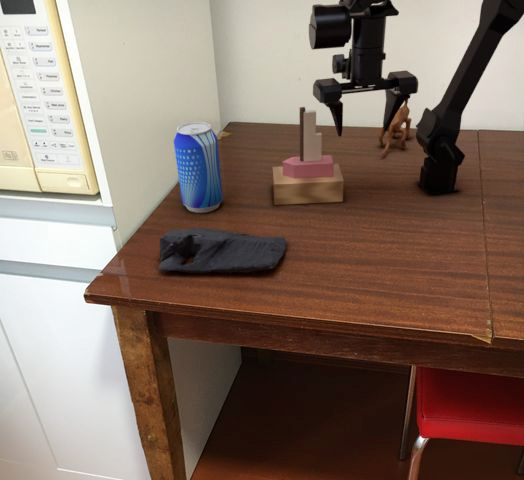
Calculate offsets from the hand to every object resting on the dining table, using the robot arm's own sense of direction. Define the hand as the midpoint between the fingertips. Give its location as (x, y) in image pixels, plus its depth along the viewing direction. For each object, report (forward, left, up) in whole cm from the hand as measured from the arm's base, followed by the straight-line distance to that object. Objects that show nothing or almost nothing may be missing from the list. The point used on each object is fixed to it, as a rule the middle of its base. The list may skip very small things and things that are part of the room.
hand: (362, 133), depth 116 cm
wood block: (+10, -4, -13) cm, 17 cm away
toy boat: (+9, -4, -8) cm, 13 cm away
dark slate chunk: (+31, +17, -13) cm, 38 cm away
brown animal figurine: (-17, -24, -13) cm, 32 cm away
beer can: (+32, -5, -13) cm, 35 cm away
